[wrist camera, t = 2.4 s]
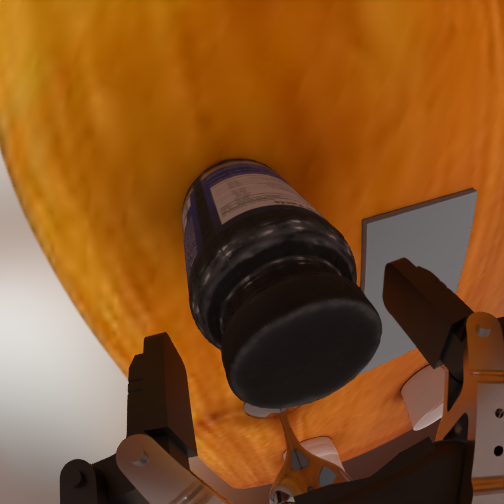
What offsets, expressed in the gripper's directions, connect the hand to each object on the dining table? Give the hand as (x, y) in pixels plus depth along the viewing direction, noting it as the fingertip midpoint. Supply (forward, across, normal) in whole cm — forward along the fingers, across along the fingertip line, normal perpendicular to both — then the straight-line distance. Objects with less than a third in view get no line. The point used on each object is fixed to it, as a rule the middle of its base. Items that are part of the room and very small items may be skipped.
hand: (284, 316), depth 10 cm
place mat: (+9, -14, +12) cm, 20 cm away
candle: (+9, -20, +32) cm, 38 cm away
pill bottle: (+9, 0, 0) cm, 9 cm away
